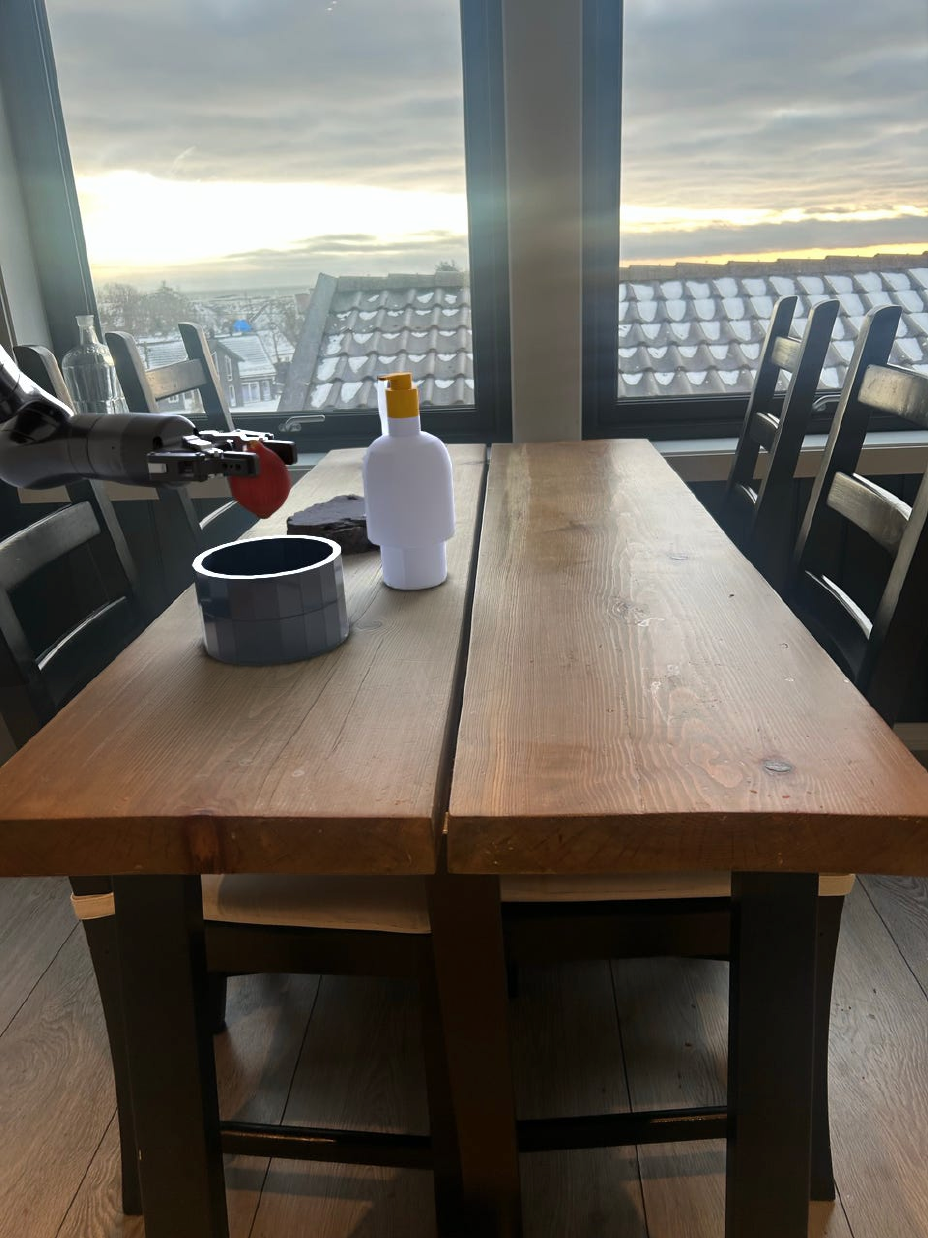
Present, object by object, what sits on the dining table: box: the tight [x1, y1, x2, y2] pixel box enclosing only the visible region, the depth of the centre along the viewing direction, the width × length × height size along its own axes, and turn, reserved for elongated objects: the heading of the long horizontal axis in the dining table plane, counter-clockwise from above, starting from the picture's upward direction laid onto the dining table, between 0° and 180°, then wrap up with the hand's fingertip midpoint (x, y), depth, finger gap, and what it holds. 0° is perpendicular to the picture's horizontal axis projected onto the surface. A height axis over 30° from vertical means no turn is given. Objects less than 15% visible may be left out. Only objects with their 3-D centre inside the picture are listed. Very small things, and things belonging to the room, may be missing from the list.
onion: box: [228, 439, 292, 520], centre depth 97 cm, size 6×6×8 cm
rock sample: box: [285, 493, 381, 556], centre depth 136 cm, size 18×16×5 cm
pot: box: [191, 535, 350, 667], centre depth 102 cm, size 15×15×9 cm
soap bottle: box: [361, 372, 457, 591], centre depth 114 cm, size 10×10×24 cm
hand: (276, 459), depth 95 cm, fingers closed on onion, 5 cm apart
